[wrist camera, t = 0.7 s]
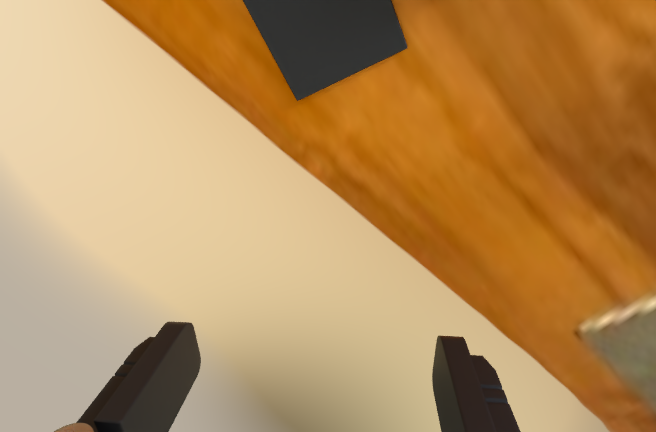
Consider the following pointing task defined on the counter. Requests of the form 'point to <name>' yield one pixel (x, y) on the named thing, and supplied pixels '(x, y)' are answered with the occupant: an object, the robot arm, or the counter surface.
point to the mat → (326, 38)
